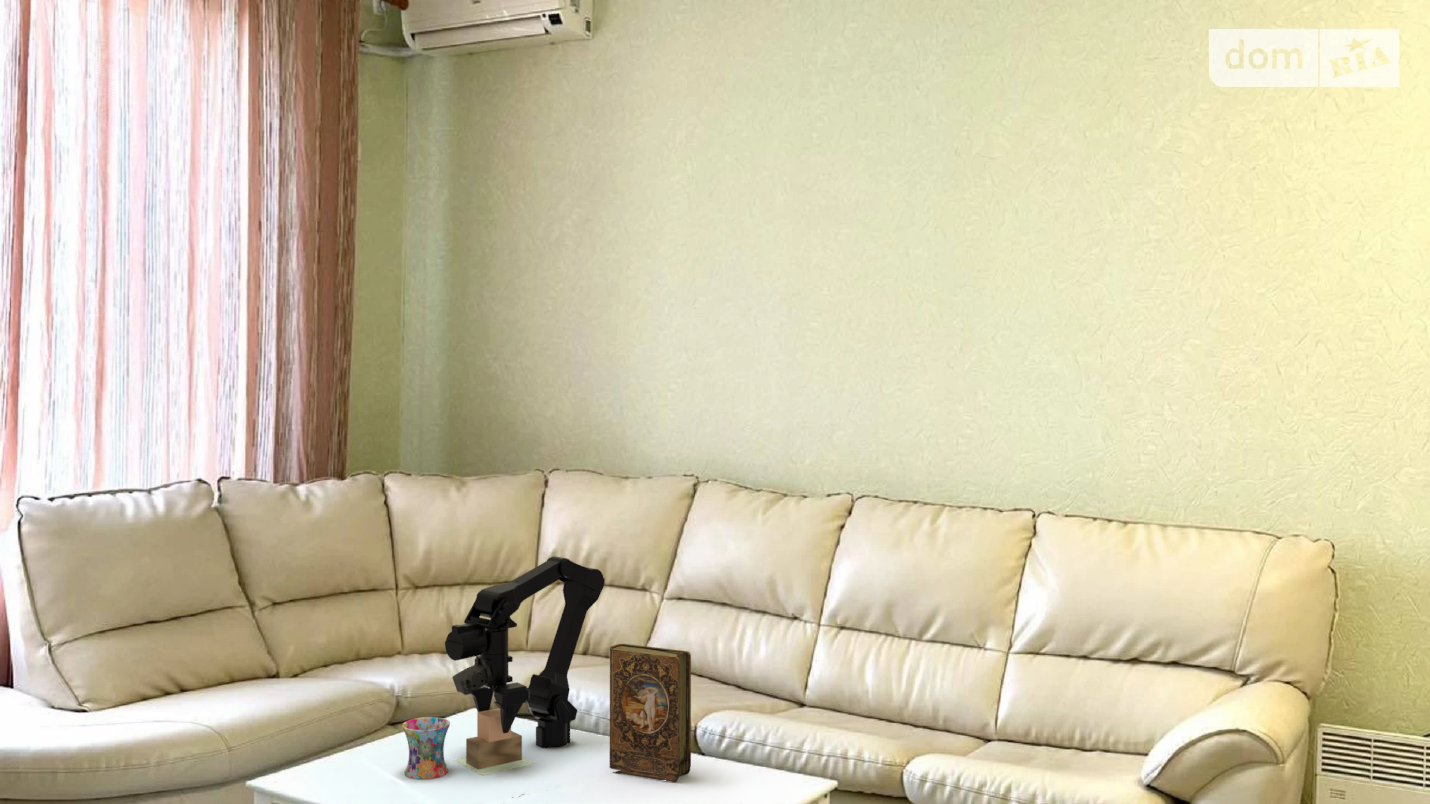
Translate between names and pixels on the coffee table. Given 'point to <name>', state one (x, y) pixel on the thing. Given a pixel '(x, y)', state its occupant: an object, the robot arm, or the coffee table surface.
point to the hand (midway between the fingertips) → (494, 727)
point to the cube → (491, 726)
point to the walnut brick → (493, 751)
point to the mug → (426, 747)
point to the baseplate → (497, 767)
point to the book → (650, 711)
